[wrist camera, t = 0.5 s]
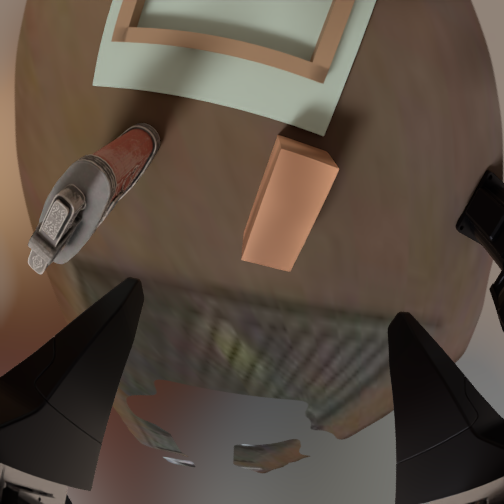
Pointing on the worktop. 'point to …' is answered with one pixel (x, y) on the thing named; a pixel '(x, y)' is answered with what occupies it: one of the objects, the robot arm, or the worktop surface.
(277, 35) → the mat
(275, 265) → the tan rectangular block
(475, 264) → the worktop surface
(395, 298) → the worktop surface
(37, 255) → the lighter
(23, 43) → the worktop surface
